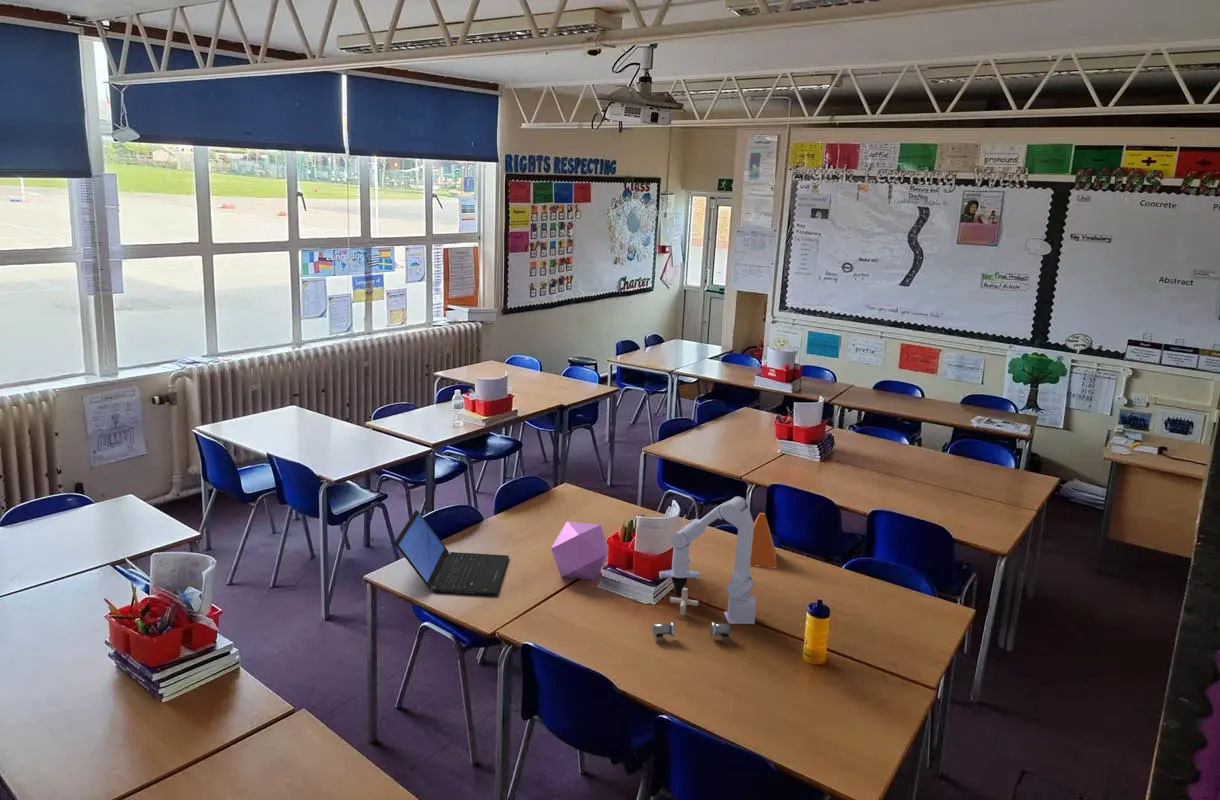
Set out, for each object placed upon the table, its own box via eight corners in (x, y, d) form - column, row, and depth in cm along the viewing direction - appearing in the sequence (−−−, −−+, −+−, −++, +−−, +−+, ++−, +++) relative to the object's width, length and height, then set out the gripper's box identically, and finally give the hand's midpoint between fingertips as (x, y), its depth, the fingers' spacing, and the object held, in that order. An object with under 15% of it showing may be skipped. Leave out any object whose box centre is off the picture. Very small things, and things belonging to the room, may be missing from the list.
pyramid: (738, 564, 346) (742, 518, 341) (738, 548, 361) (743, 504, 356) (777, 569, 344) (782, 523, 339) (776, 553, 359) (781, 509, 354)
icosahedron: (561, 538, 344) (556, 506, 325) (613, 544, 342) (611, 511, 322) (551, 588, 331) (545, 558, 311) (605, 595, 328) (602, 564, 309)
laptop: (497, 598, 308) (498, 548, 303) (393, 591, 308) (393, 542, 303) (509, 558, 340) (510, 513, 335) (416, 553, 340) (416, 507, 335)
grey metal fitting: (671, 635, 288) (673, 619, 287) (674, 643, 283) (675, 626, 282) (651, 635, 288) (652, 619, 286) (653, 643, 283) (654, 626, 281)
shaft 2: (726, 635, 290) (728, 619, 289) (729, 643, 285) (731, 626, 284) (709, 635, 290) (710, 619, 288) (712, 643, 285) (713, 626, 283)
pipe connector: (695, 623, 297) (697, 597, 295) (667, 619, 299) (669, 593, 297) (698, 609, 307) (700, 584, 304) (671, 605, 309) (673, 580, 306)
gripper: (697, 556, 315) (694, 590, 319) (659, 556, 314) (656, 590, 317) (701, 565, 309) (698, 599, 312) (661, 564, 307) (659, 599, 311)
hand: (677, 595), depth 314 cm, fingers closed
